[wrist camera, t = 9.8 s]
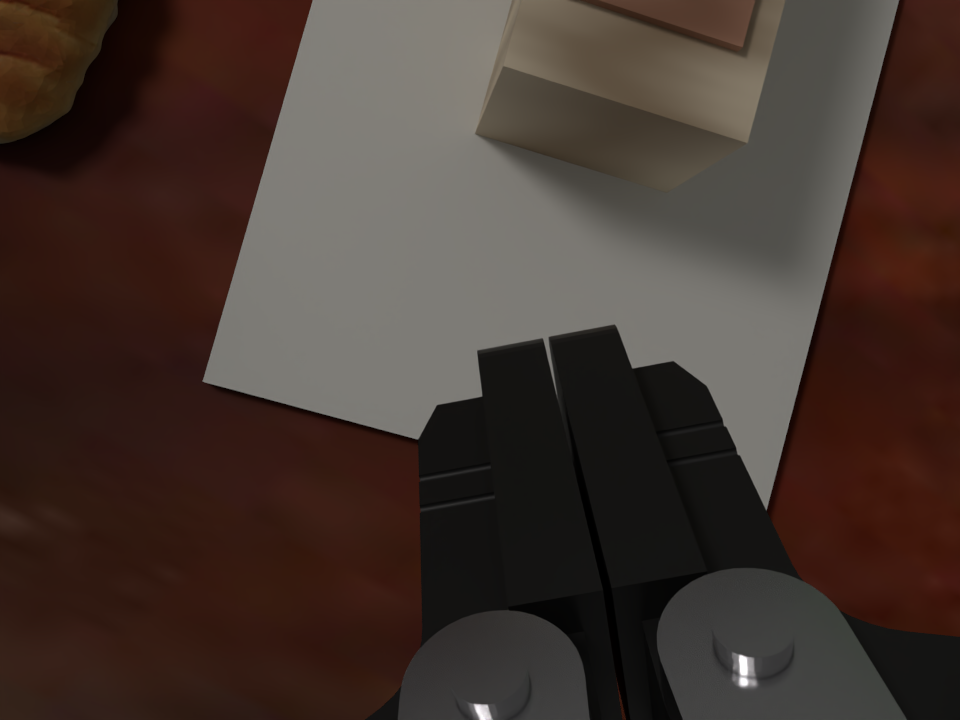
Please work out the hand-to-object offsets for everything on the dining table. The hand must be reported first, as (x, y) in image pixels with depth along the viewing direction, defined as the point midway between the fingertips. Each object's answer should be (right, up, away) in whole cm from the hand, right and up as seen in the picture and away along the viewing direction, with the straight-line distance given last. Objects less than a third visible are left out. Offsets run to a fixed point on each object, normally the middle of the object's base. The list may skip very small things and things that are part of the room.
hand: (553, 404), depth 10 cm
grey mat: (+3, +10, +18) cm, 21 cm away
